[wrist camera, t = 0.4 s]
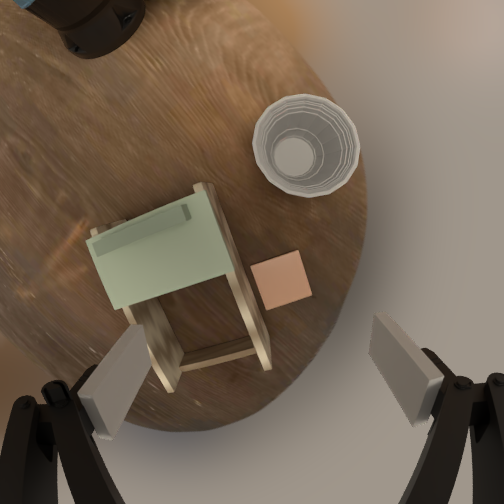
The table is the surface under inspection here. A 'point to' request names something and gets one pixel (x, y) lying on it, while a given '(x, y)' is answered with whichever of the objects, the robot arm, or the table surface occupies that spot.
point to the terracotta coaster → (281, 279)
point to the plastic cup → (306, 145)
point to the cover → (161, 251)
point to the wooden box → (163, 338)
